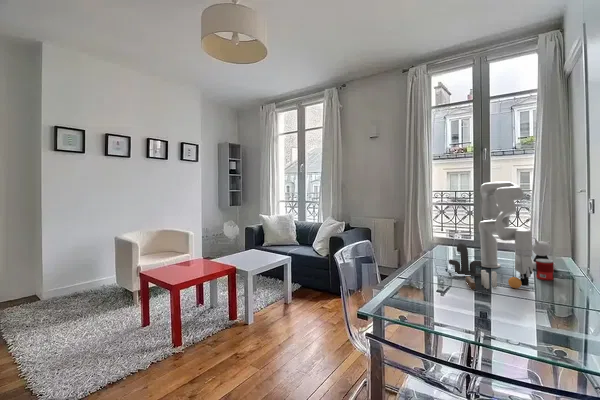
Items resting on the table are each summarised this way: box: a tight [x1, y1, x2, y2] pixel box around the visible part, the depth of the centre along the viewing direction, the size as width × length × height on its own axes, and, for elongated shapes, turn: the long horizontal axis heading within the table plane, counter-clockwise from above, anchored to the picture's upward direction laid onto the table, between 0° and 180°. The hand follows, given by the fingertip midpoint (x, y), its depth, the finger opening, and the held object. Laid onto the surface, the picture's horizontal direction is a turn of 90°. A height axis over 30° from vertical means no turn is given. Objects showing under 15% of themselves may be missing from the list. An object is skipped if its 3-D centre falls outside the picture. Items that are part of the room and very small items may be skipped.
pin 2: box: [483, 272, 490, 290], centre depth 163 cm, size 2×2×8 cm
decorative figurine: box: [532, 238, 557, 271], centre depth 190 cm, size 15×15×20 cm
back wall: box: [465, 276, 476, 290], centre depth 168 cm, size 12×2×4 cm, turn 163°
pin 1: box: [480, 269, 487, 287], centre depth 168 cm, size 2×2×8 cm
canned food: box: [535, 258, 555, 282], centre depth 172 cm, size 8×8×11 cm
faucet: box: [448, 241, 482, 278], centre depth 191 cm, size 18×16×20 cm
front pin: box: [491, 270, 498, 288], centre depth 165 cm, size 2×2×8 cm
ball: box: [507, 276, 522, 289], centre depth 161 cm, size 6×6×6 cm
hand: (524, 285), depth 160 cm, fingers closed
